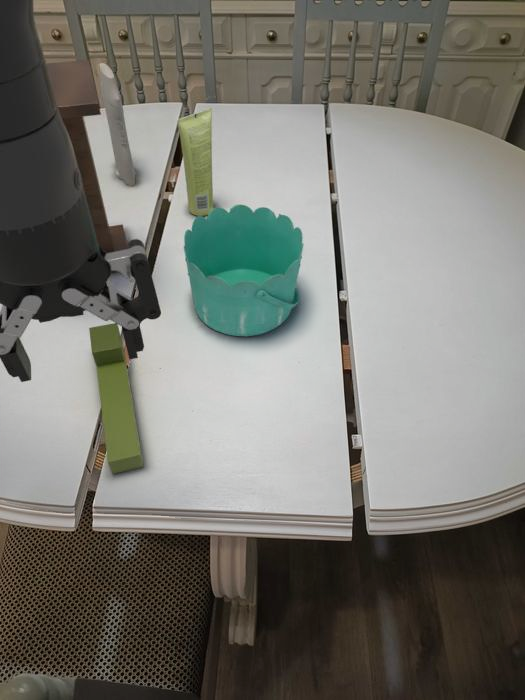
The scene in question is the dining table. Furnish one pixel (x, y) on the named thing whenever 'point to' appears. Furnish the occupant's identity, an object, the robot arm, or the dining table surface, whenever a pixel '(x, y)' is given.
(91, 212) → the brown wooden podium
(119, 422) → the green l-shaped block
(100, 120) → the dining table surface
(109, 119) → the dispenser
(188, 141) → the tube
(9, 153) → the robot arm
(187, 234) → the bucket
